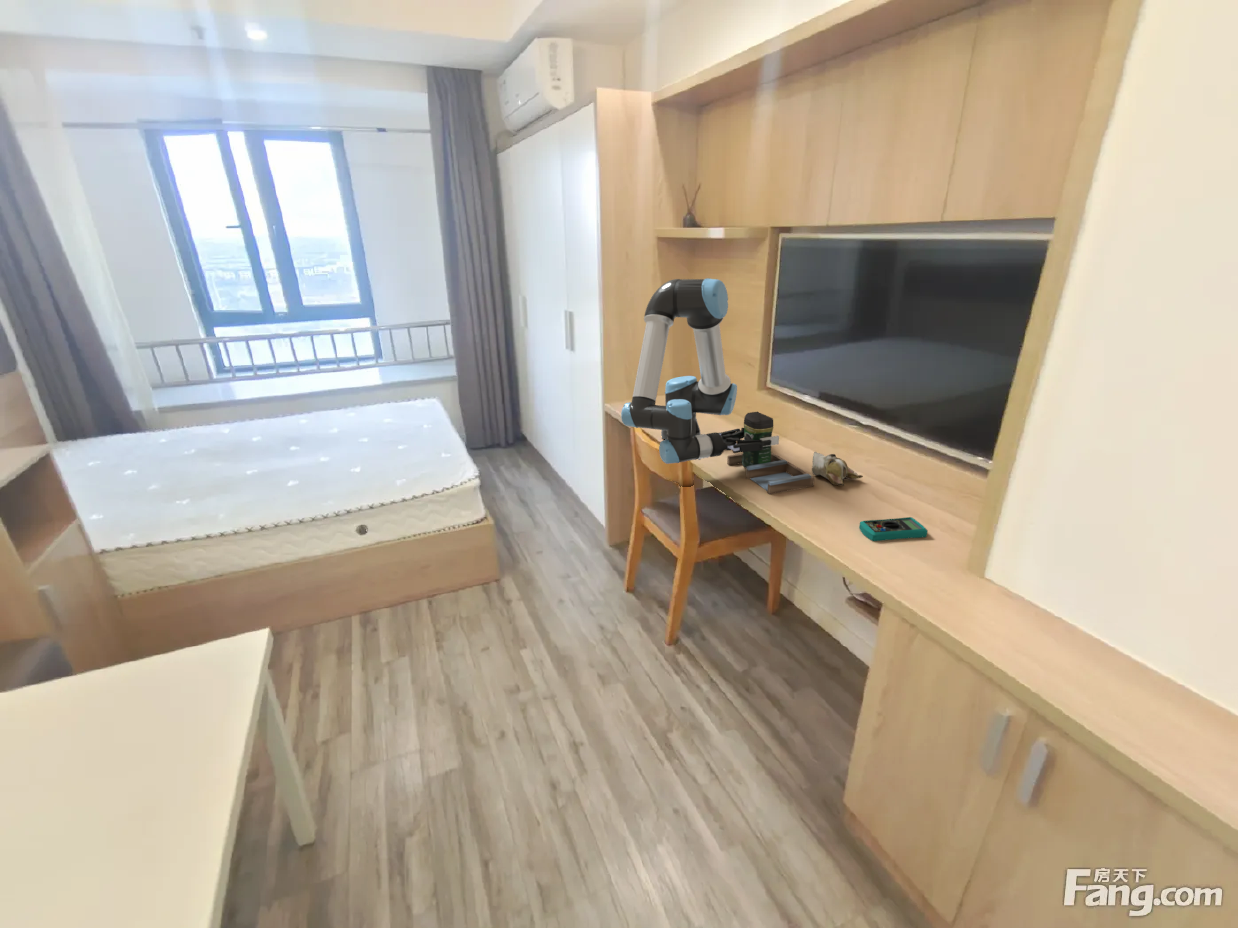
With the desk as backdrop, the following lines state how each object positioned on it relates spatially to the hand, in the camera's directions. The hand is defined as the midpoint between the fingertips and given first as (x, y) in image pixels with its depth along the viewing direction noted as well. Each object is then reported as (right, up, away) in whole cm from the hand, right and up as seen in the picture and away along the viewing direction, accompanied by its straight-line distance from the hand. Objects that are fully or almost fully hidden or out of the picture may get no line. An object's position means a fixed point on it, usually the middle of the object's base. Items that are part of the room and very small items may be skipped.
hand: (770, 435), depth 181 cm
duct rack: (-2, -13, -3) cm, 13 cm away
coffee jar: (-4, -11, +3) cm, 12 cm away
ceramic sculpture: (+17, -14, -8) cm, 24 cm away
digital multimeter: (+20, -27, -39) cm, 52 cm away
